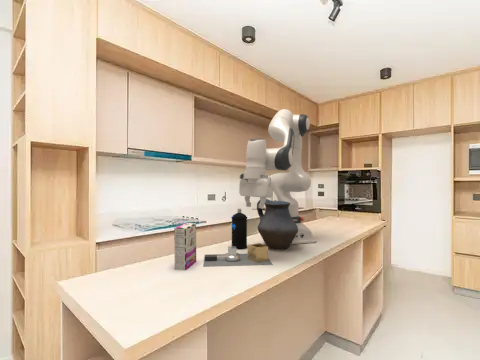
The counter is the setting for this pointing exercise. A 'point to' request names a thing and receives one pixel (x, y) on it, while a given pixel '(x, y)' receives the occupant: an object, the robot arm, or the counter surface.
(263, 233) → the pitcher
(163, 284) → the counter surface
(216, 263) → the mat
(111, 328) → the counter surface
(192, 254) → the candy bar box
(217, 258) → the ratchet
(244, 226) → the aerosol can
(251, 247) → the brass square frame
